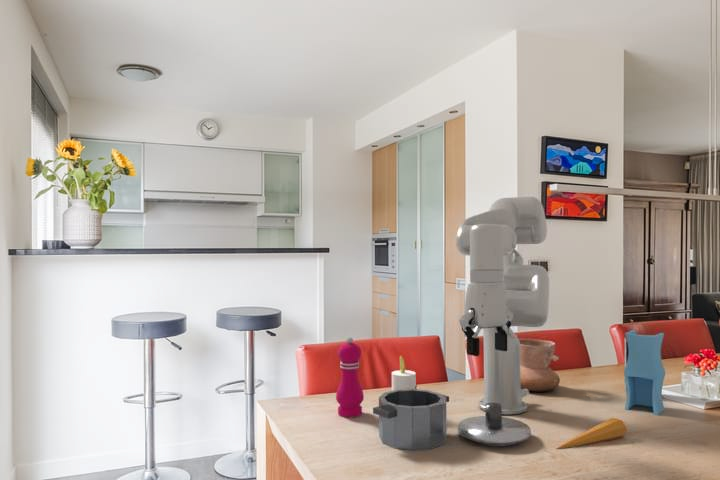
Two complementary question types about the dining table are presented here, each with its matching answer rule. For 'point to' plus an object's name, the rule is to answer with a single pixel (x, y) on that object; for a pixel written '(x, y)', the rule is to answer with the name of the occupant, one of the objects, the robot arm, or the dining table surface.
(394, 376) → the candle
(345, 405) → the pepper mill
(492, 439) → the lid
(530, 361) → the ceramic jug
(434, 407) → the pot
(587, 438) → the carrot
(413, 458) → the dining table surface
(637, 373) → the blue tall piece
